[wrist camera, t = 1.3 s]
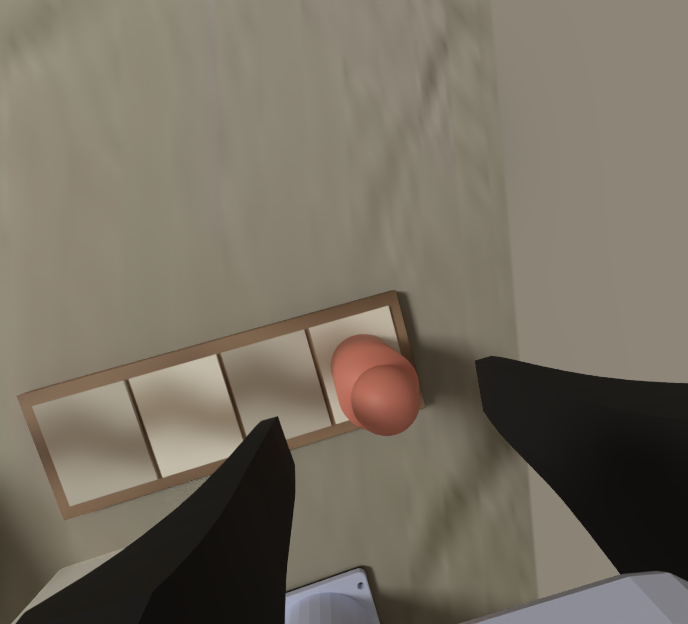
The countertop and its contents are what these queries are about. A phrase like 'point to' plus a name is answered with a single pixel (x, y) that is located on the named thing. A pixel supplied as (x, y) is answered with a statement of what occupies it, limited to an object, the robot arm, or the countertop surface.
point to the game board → (198, 405)
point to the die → (67, 578)
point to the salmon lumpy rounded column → (375, 385)
